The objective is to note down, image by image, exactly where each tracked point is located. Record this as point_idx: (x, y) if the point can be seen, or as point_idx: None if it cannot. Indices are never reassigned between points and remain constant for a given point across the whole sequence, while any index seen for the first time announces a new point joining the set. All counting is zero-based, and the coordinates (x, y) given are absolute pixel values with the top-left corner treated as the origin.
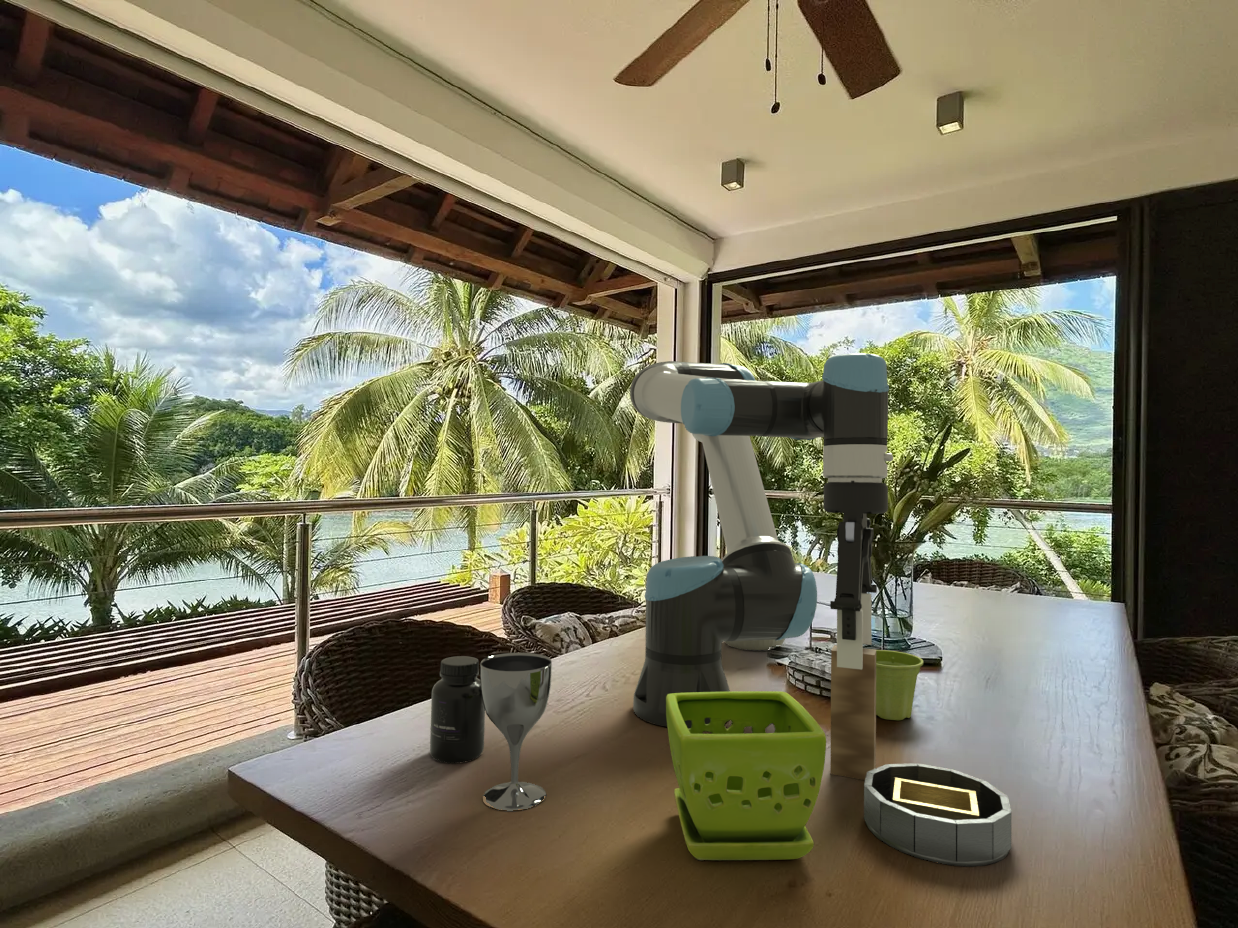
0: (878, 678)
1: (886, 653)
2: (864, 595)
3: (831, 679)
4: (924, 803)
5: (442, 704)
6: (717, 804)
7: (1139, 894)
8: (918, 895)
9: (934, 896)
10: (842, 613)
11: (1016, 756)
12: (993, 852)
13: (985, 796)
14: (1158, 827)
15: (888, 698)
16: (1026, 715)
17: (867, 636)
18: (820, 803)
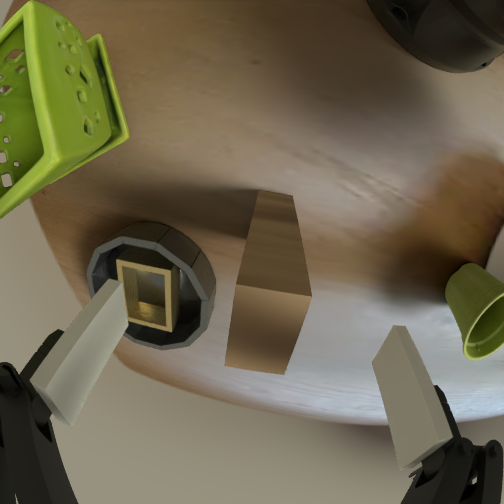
0: (474, 300)
1: None
2: (408, 459)
3: (245, 246)
4: (123, 285)
5: None
6: (3, 118)
7: (135, 362)
8: (66, 248)
9: (70, 258)
10: (19, 375)
11: (350, 370)
12: None
13: (180, 335)
14: (231, 402)
15: (458, 296)
16: (437, 382)
17: (379, 371)
18: (167, 176)
